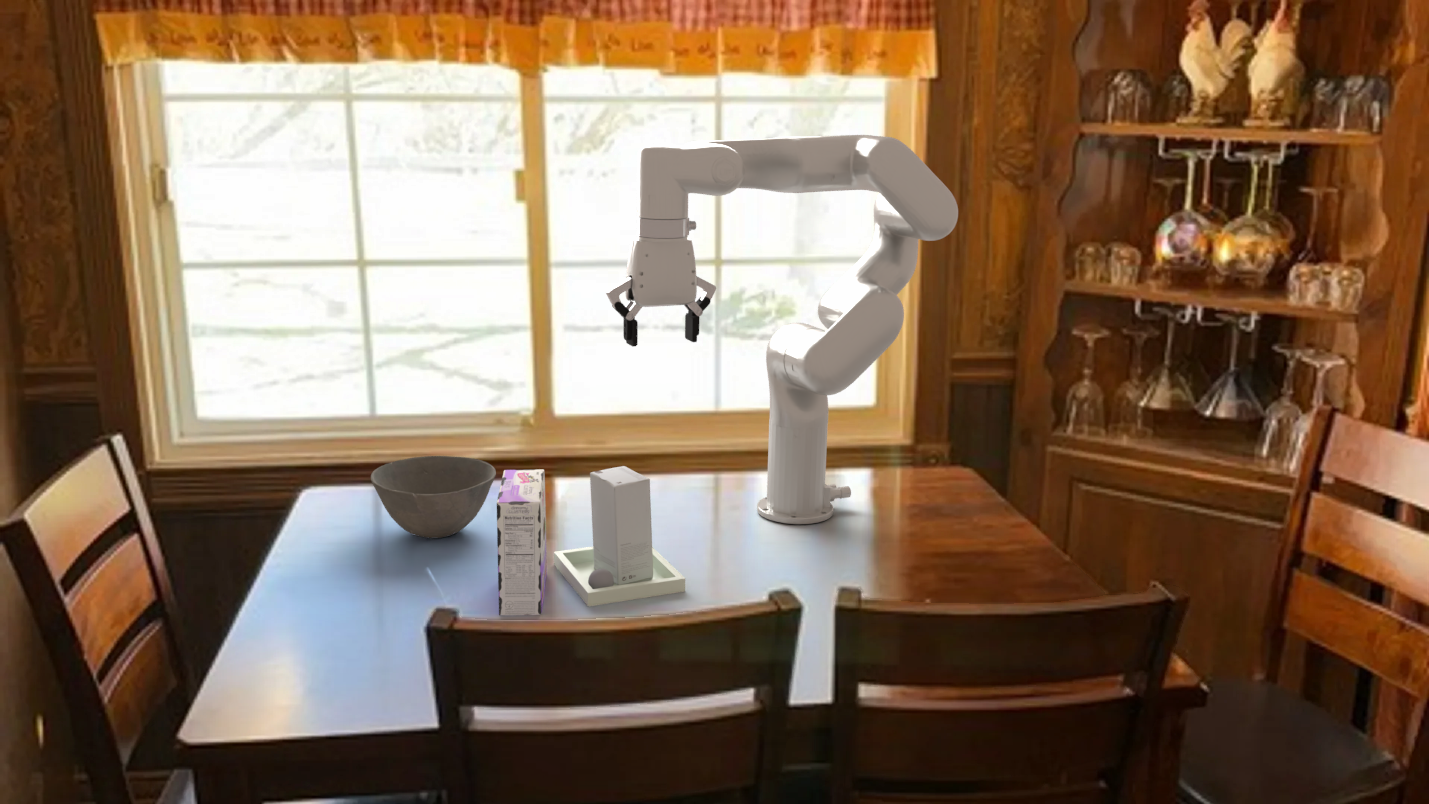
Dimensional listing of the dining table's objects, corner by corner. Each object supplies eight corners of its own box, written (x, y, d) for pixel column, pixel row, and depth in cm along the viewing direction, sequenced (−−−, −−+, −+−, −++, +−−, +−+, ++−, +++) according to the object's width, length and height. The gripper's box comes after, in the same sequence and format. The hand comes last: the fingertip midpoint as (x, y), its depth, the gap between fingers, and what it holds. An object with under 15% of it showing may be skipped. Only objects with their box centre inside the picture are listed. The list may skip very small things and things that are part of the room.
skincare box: (654, 579, 173) (654, 479, 169) (615, 587, 170) (615, 485, 166) (626, 560, 180) (626, 463, 176) (589, 567, 177) (588, 469, 173)
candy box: (506, 579, 174) (503, 468, 170) (547, 578, 174) (546, 467, 170) (497, 620, 161) (494, 500, 156) (542, 619, 161) (540, 500, 157)
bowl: (370, 559, 180) (366, 495, 177) (377, 516, 198) (374, 457, 195) (499, 552, 184) (498, 488, 181) (495, 510, 201) (493, 452, 199)
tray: (644, 555, 184) (644, 539, 183) (685, 595, 169) (685, 578, 169) (554, 567, 178) (553, 551, 177) (588, 610, 164) (588, 593, 163)
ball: (609, 586, 170) (609, 563, 169) (617, 596, 167) (617, 572, 166) (585, 590, 169) (584, 566, 168) (593, 599, 166) (592, 575, 165)
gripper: (705, 225, 189) (704, 334, 193) (598, 228, 182) (599, 341, 186) (726, 230, 182) (723, 343, 186) (615, 234, 175) (615, 351, 180)
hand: (661, 342), depth 186 cm, fingers open, 9 cm apart
